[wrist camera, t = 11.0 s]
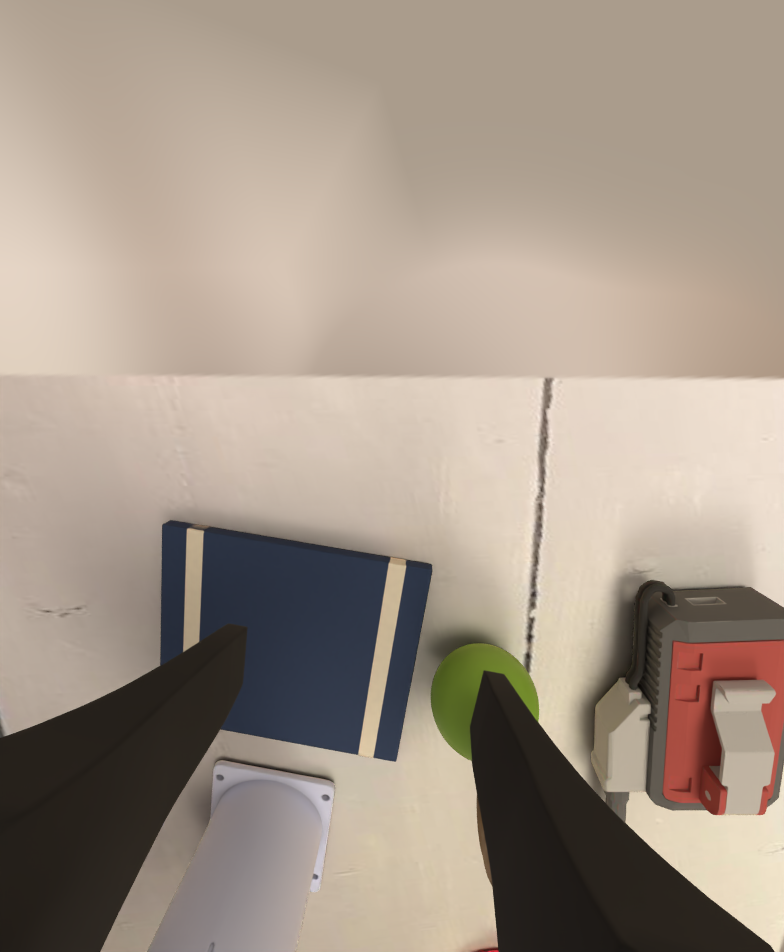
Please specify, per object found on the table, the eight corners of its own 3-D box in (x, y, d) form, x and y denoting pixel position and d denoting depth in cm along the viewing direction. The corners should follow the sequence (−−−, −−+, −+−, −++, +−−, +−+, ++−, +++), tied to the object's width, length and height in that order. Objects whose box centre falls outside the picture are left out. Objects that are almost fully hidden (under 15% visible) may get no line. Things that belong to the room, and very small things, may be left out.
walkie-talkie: (590, 572, 21) (585, 854, 26) (633, 619, 17) (618, 948, 21) (765, 563, 21) (729, 855, 25) (855, 610, 16) (793, 953, 21)
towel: (396, 751, 25) (396, 763, 24) (166, 708, 25) (158, 718, 25) (432, 563, 22) (432, 570, 21) (170, 519, 22) (161, 524, 22)
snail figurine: (531, 611, 22) (654, 862, 11) (517, 707, 24) (612, 1021, 12) (434, 603, 22) (449, 840, 11) (426, 698, 24) (432, 997, 12)
